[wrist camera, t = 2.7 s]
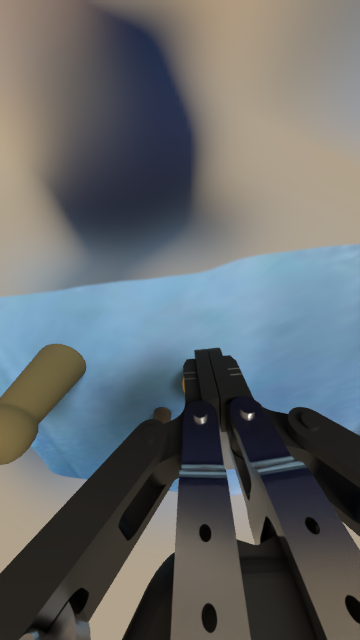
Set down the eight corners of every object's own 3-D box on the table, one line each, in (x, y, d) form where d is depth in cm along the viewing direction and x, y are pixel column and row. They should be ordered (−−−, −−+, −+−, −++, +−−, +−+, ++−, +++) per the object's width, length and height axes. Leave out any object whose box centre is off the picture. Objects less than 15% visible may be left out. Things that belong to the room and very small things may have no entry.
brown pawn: (78, 386, 26) (16, 483, 16) (33, 369, 24) (-65, 464, 14) (92, 356, 23) (29, 447, 14) (44, 336, 22) (-65, 421, 12)
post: (169, 406, 28) (166, 479, 20) (171, 418, 29) (169, 490, 21) (152, 408, 28) (142, 480, 20) (155, 419, 29) (146, 492, 21)
